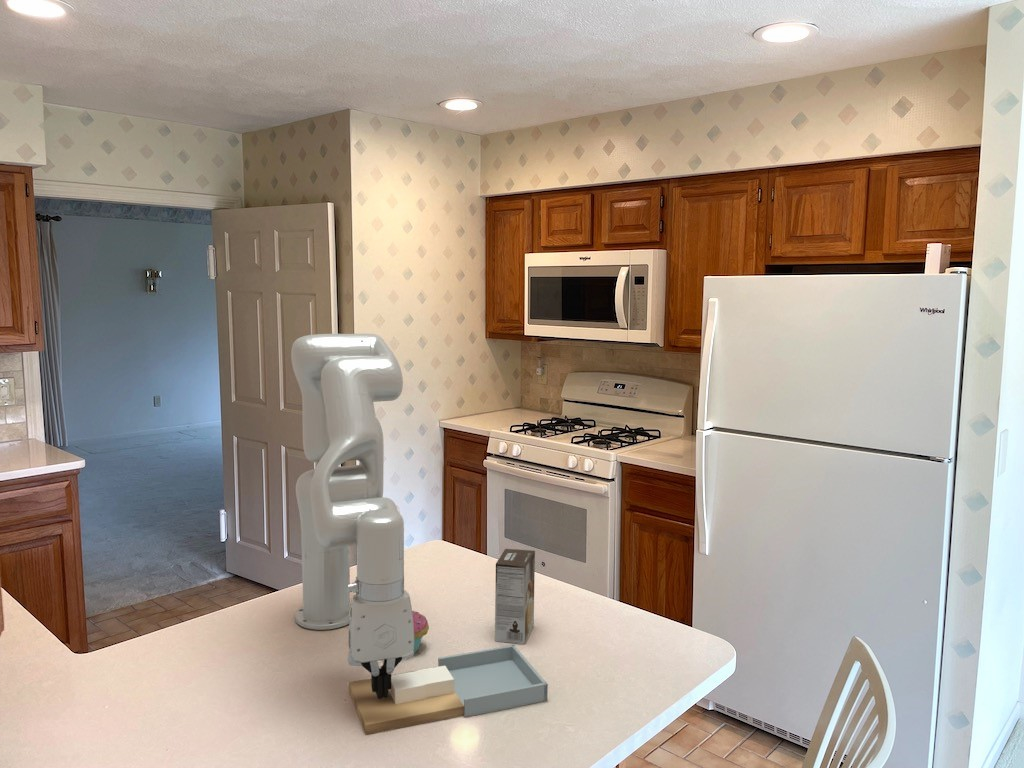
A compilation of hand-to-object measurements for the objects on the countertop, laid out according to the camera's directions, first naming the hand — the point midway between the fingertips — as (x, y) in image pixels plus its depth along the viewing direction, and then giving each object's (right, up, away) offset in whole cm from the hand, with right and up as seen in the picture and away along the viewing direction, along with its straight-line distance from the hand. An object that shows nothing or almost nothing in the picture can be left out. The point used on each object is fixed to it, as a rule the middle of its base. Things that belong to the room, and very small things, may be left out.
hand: (381, 693), depth 130 cm
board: (+4, -2, +2) cm, 5 cm away
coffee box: (+22, +1, +29) cm, 36 cm away
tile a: (+4, -1, +2) cm, 4 cm away
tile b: (+8, 0, +4) cm, 9 cm away
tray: (+18, -2, +8) cm, 19 cm away
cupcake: (+1, 0, +21) cm, 21 cm away
